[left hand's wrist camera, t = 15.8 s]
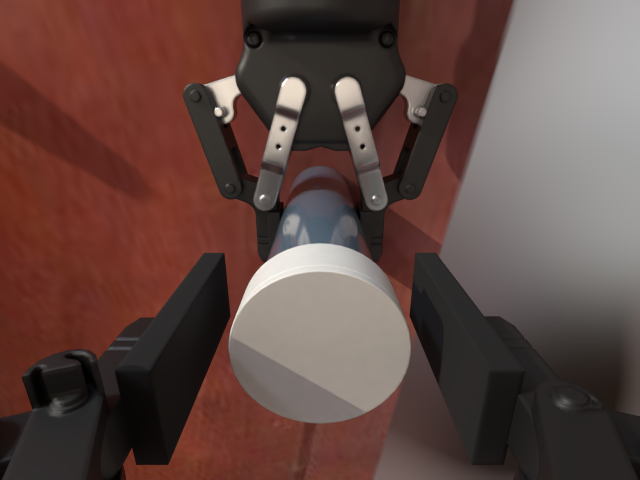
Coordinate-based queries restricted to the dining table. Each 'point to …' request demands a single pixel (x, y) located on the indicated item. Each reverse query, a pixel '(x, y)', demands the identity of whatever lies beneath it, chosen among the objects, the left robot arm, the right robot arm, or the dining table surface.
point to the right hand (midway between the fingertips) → (320, 264)
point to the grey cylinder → (319, 214)
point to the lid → (320, 335)
